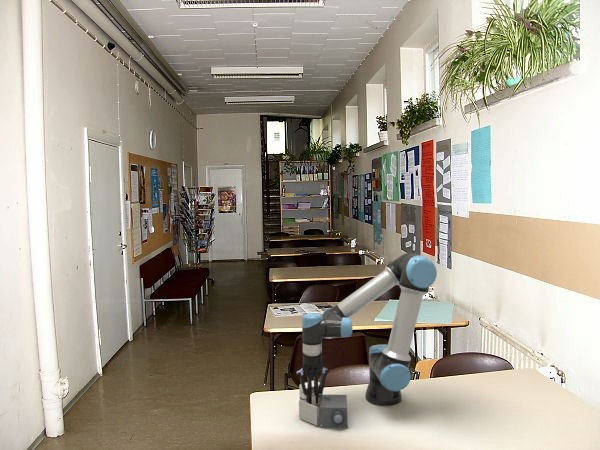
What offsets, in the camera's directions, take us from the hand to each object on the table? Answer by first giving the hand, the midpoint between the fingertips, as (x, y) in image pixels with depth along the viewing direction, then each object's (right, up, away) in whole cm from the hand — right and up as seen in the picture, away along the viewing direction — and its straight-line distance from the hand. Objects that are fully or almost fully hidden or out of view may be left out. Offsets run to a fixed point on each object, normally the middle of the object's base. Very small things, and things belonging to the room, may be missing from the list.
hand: (313, 411), depth 201 cm
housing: (+8, -3, -3) cm, 9 cm away
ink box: (-1, -3, +5) cm, 6 cm away
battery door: (-2, -3, -4) cm, 5 cm away
